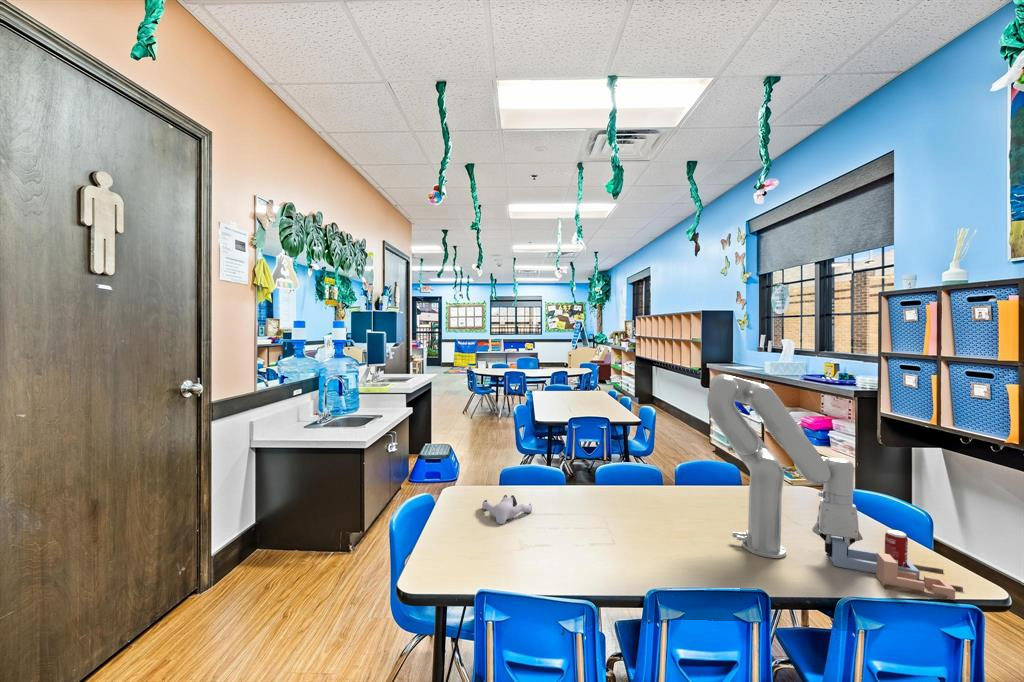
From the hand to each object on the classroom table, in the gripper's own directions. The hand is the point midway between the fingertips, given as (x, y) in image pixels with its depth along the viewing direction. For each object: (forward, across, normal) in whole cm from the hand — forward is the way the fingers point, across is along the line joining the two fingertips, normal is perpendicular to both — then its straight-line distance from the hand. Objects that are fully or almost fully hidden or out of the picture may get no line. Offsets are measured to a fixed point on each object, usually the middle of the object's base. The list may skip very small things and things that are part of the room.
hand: (836, 555), depth 142 cm
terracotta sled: (+1, +13, -9) cm, 16 cm away
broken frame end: (+2, +22, -10) cm, 24 cm away
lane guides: (+2, +18, -4) cm, 19 cm away
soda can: (+2, +15, 0) cm, 15 cm away
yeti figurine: (+2, -110, -11) cm, 110 cm away
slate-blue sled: (+1, +9, 0) cm, 9 cm away
